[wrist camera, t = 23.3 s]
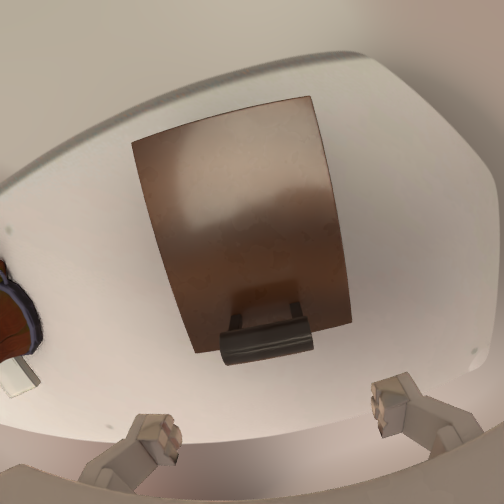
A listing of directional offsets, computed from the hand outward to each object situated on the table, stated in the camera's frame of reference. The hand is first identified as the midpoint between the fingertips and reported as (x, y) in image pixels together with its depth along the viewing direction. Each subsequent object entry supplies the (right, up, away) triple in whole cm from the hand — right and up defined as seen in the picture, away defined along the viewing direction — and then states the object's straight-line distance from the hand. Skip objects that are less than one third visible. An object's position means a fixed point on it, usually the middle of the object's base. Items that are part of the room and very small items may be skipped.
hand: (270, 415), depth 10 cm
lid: (-1, +8, +9) cm, 12 cm away
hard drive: (-41, -14, +25) cm, 50 cm away
